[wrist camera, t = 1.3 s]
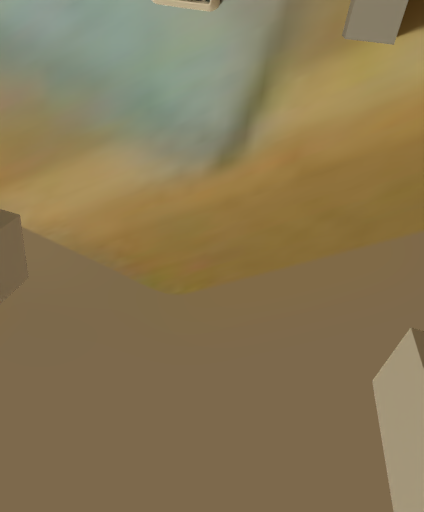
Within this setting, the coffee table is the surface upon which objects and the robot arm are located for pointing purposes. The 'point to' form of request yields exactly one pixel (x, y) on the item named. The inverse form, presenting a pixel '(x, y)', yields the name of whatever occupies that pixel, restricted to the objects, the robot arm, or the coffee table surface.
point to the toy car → (191, 4)
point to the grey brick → (374, 20)
